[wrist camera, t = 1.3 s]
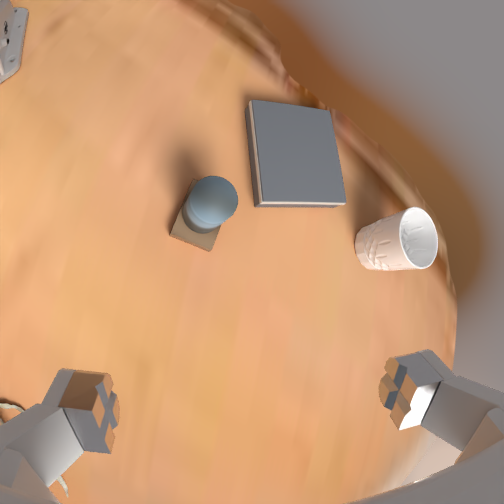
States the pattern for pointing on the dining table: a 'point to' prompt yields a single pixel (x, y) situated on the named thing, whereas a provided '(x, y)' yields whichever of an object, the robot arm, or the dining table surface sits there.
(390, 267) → the white cup
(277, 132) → the dock
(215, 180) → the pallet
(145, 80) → the dining table surface
